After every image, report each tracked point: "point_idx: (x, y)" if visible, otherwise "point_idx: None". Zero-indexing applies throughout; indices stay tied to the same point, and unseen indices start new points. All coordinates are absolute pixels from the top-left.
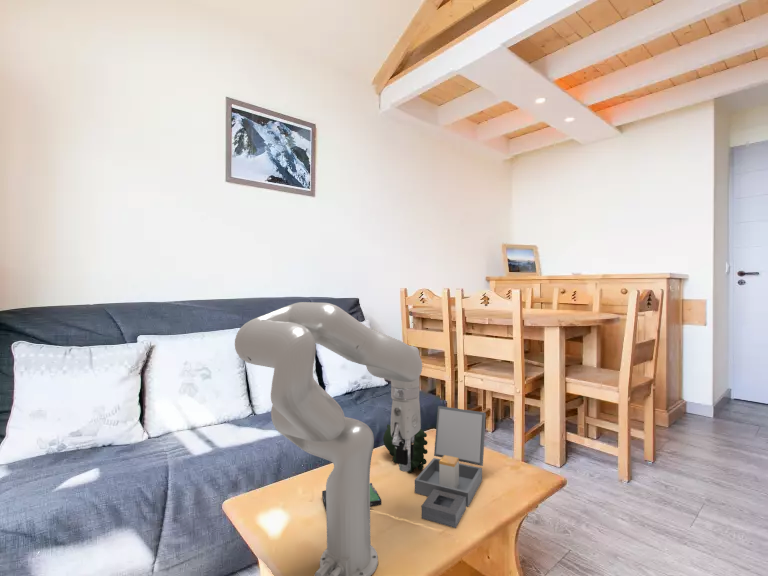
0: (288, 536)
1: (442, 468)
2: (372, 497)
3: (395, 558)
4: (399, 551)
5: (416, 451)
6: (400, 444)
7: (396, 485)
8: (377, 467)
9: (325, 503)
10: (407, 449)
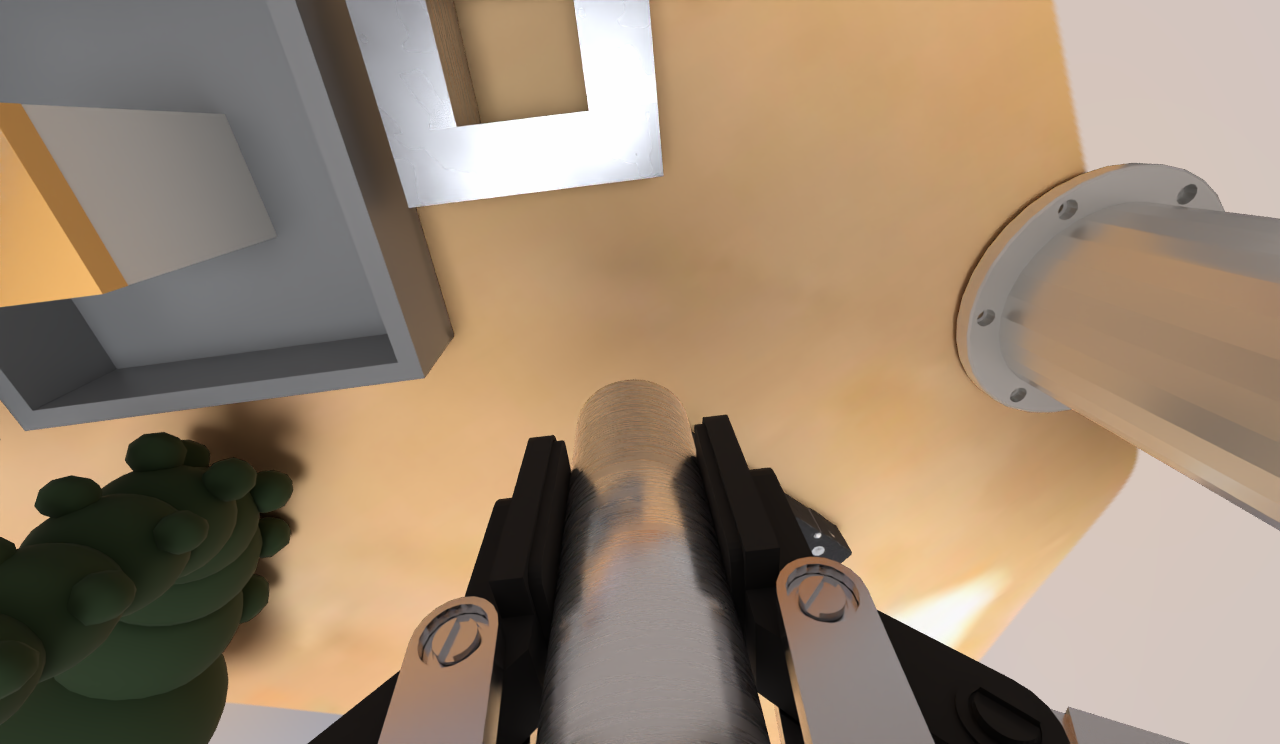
0: (982, 554)
1: (142, 243)
2: None
3: (993, 129)
4: (938, 140)
5: (160, 544)
6: (1057, 723)
7: (440, 463)
8: (371, 614)
9: None
10: (743, 557)
